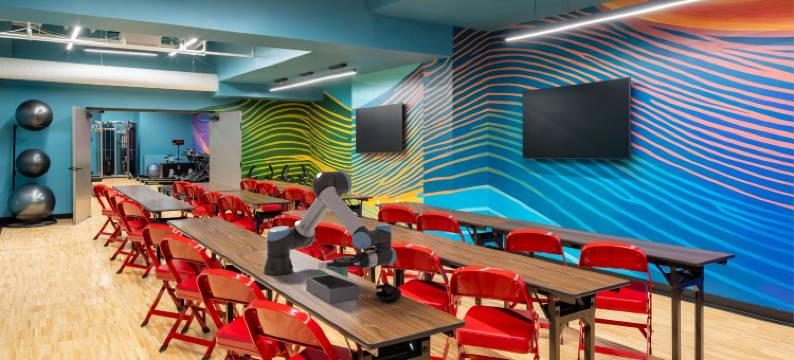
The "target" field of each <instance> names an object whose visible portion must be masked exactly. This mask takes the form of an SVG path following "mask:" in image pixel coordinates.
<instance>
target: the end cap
mask: <svg viewBox="0 0 794 360" xmlns="http://www.w3.org/2000/svg"><path fill="white" fill-rule="evenodd" d="M375 290H380V291H376V292H375V296H376V300H378V301H379V302H382V303H384V304H385V305H391V304H395V303H397V301H399V300H400V299H401V297H402V291H401V289H400V288H399V287H397V286H395V285H393V284H391V283H388V282H383V284H378V285H376V286H375Z"/></svg>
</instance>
